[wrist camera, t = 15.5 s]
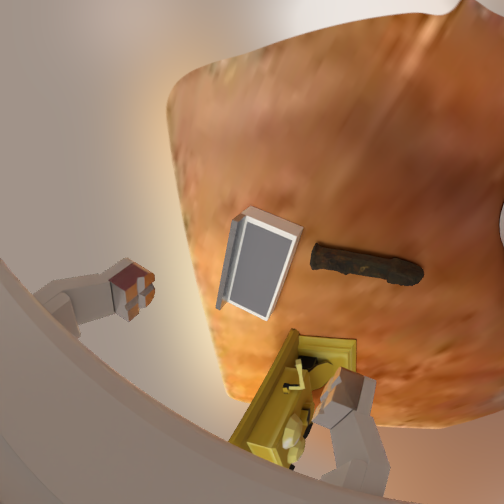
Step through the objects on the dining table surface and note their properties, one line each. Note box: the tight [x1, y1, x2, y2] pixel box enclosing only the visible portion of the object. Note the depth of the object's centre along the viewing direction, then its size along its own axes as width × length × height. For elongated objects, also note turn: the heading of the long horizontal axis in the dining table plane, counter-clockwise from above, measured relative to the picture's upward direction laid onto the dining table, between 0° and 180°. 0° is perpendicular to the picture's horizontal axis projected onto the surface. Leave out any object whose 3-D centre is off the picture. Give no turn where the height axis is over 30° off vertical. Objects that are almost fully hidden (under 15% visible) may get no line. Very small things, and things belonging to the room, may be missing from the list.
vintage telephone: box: [228, 328, 356, 471], centre depth 50 cm, size 31×14×30 cm, turn 14°
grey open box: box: [216, 206, 303, 321], centre depth 53 cm, size 10×20×7 cm, turn 167°
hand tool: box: [310, 243, 424, 286], centre depth 44 cm, size 19×4×5 cm, turn 91°
